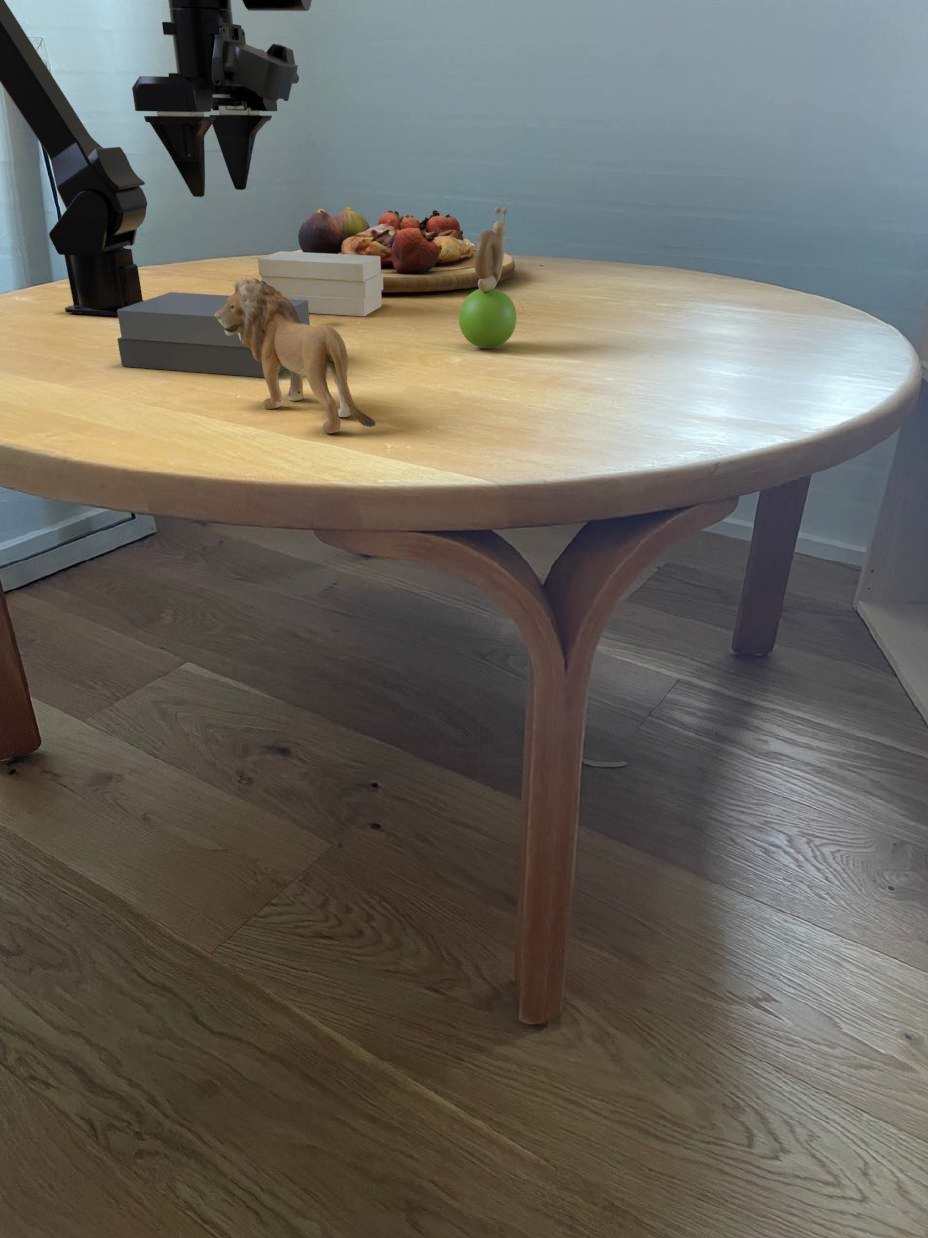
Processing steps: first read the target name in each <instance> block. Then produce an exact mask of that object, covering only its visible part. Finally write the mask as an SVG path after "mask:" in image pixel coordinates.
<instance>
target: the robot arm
mask: <svg viewBox="0 0 928 1238" xmlns="http://www.w3.org/2000/svg"><path fill="white" fill-rule="evenodd" d="M167 1H168V9H169V18H170V21H161V25H162V33H163V35H164V36H171V37H172V42H173V50H174V59H175V66H176V72H168V76H162V75H161V76H157V75H154V76H153V75H152V76H149V75H148V76H143V75H140V76H138V78H137V80H136V81H135V83H134V84H133V86H132V87H131V90H132V97H133V104H134V112H156V114H157V115H144V116H143V119H144V120H145V123H149V125H150V126H151V127H152V129H153V130H154V132H155V134H156V136H157V137H158V138H159V140H160V142H161V143H162V144H163V147H164V148H165V150H166V151H167V153H168V154H169V156H170V158H171V160H172V161H173V163H174V166H175V168H176V169H177V170H178V172H179V174H180V176H181V177H182V179H183V181H184V183H185V185H186V186H187V189H188V190H189V191H190V193H191V195H192V196H193V197H194V198H203V197H205V194H206V190H205V189H206V159H205V157H206V155H205V154H206V153H205V136H206V134H207V132H208V131H209V130H210V128H211V126H212V128H213V130H214V134H215V137H216V140H217V143H218V146H219V148H220V151H221V154H222V157H223V160H224V163H225V166H226V168H227V171H228V175H229V178H230V180H231V182H232V185H233V187H234V189H235V190H237V191H245V190H246V189H247V184H248V179H249V173H250V167H251V161H252V157H253V156H252V155H253V151H254V146H255V141H256V137H257V134H258V132H259V131H260V130H261V129H262V128H263V127H264V125H266V124H267V122H271V120H272V117H273V115H270V114H269V115H263V114H261V113H260V112H278V100H283V101H285V102H289V100H290V95H291V91H292V86H293V84H294V85H295V84H298V83H299V81H300V76H299V74H298V68H299V66H298V65H297V64H296V60H295V55H294V50H293V49H291V48H289V47H287V46H285V45H282V44H280V43H272V44H271V45H270V46H269V48H268V49H267V51H265V50H264V49H262V48H256V47H254V46H252V45H249V44H247V42H246V32H245V29H243V27H242V25H241V24H234V17H233V12H232V11H233V9H232V0H167ZM242 3H243V5H244V7H245V9H246V10H247V11H248V12H308V11H310V9H311V6H312V0H242ZM0 85H2V87H3V88H4V90H5V91H6V93H7V95H8V96H9V98H10V99H11V101H12V102H13V104H14V105H15V107H16V108H17V109H18V111H19V113H20V115H21V116H22V117H23V119H24V120H25V122H26V124H27V125H28V127H29V128H30V130H31V131H32V132H33V134H34V136H35V137H36V139H37V140H38V143H40V145H41V146H42V148H43V150H44V151H45V153H46V154H47V156H48V159H49V160H50V163H51V168H52V174H53V177H54V178H53V179H54V184H55V187H56V191H57V193H58V194H59V197H60V199H61V201H62V203H63V205H64V207H65V211H64V212H63V213H62V215H61V216H60V218H59V219H58V221H57V222H56V223H55V224H54V226H53V227H52V229H51V230H50V231H49V232H48V236H49V237H48V238H49V239H50V241H51V243H52V244H53V246H54V249H55V250H56V252H57V254H58V255H61V256H64V262H65V266H66V273H67V278H68V283H69V288H70V293H71V297H72V298H71V299H72V303H73V304H72V305H70V306H69V305H68V306H66V307H64V310H65V313H70V314H83V315H84V314H85V315H97V316H98V315H100V316H113V317H115V316H118V313H117V310H118V309H121V308H124V307H127V306H130V305H133V304H136V303H139V302H142V301H144V300H143V293H142V285H141V280H140V273H139V267H138V264H137V263H134V256H133V250H132V248H127V247H130V246H131V247H132V246H134V245H135V242H136V236H137V232H138V228H139V227H140V226H141V225H143V224H144V223H143V222H144V221H145V219H146V217H147V216H146V215H147V207H148V201H147V196H146V194H145V193H144V190H143V189H142V187H141V186H145V184H146V183H145V181H144V180H143V179H141V178H140V177H139V176H138V175H137V173H136V171H134V169H133V167H132V166H131V163H130V161H129V159H128V157H127V155H126V153H125V151H124V150H123V149H122V147H121V146H113V147H103V146H102V145H100V143H98V142H97V141H96V140H95V139H94V138H93V137H92V136H91V135H90V133H89V132H88V129H87V128H86V127H85V125H84V123H83V122H82V121H81V119H80V117H79V115H78V114H77V113H76V111H75V110H74V108H73V106H72V105H71V103H70V102H69V100H68V99H67V97H66V95H65V94H64V92H63V90H62V89H61V87H60V86H59V84H58V83H57V81H56V79H55V78H54V76H53V75H52V73H51V72H50V69H49V68H48V67H47V65H46V63H45V61H43V59H42V58H41V56H40V54H39V53H38V51H37V49H36V47H35V46H34V44H33V43H32V42H31V40H30V38H29V37H28V35H27V34H26V32H25V31H24V29H23V28H22V26H21V24H20V22H19V21H18V19H17V18H16V16H15V15H14V13H13V12H12V10H11V9H10V7H9V5H8V4H7V2H6V0H0ZM211 111H213V112H214V111H215V112H217V111H218V114H209V116H205V113H211Z"/></svg>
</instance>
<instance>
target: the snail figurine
mask: <svg viewBox="0 0 928 1238" xmlns="http://www.w3.org/2000/svg"><path fill="white" fill-rule="evenodd" d="M508 211H509V210H508V208H507V207H505V206H504V207H502V209H501V207H500V206H496V207H495V208H494V212H495V213H496V214H497V217H496V221H495V223H493V225H492V230H491V229H487V230H484V231H483V232H481V234H480V235H479V237H478V238H477V240H476V245H475V247H476V249H475V257H474V264H475V271H476V274H477V276H478V278H479V281H478V289H476V290H474V291H472V292H471V293H469V294H468V295H467V296H466V297H465V298H464V300H463V302H462V304H461V305H460V309H459V311H458V324H459V328H460V332H461V333H462V335H463V337H464V338H465V339H466V340H467V341H468V342H469V343H470V344H471V345H473V346H475V347H477V348H480V349H495V348H498V347H500V346H502V345H504V344H505V343H506V342H507V341H508V340H509V339H511V337H512V335H513V333H514V331H515V330H516V326H517V319H518V318H517V317H518V315H517V310H516V306H515V304H514V303H513V301H512V299H511V298H510V297H509V296H508V295H507V294H506V292H504V291H502V290H501V289H498V288H496V286H497V284H498V283H499V282H498V280H499V279H500V276H501V271H502V265H503V259H504V253H505V249H506V240H505V239H506V233H507V225H506V214H507V213H508ZM500 213H502V214H503V221H502V220H499V214H500Z"/></svg>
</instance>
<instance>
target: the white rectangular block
mask: <svg viewBox="0 0 928 1238" xmlns="http://www.w3.org/2000/svg"><path fill="white" fill-rule="evenodd" d="M257 264H258V266H257V267H258V276H259V277H261V276H269V277H288V278H306V279H325V280H343V281H361V282H363V281H365V280H367V279H369V278H371V277H374V276H376V275H378V274H380V273H381V261H380V256H367V255H346V254H326V253H305V252H293V251H282V250H280V251H277V252H274V253H270V254H268V255H264V256H261V257H258V258H257Z"/></svg>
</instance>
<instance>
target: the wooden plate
mask: <svg viewBox="0 0 928 1238" xmlns="http://www.w3.org/2000/svg"><path fill="white" fill-rule="evenodd" d="M463 234H464V231H463V230H461V225H460V222H459V221H458V219H457V218H456V217H454V216H451V214H450V213H448V214H446V215H445V216H443V215H441V214H440V212H439V211H438V210H436V209H433V210H432V213H431V214H430V215H429V217H427V216H425V217H424V219H423V220H421V222H420V220H418V218H415V217H414V215H409V214H406V215H400V213H399V212H398V211H396V210H394V211H393V210H387V212H386V213H383V214H382V215H381V216H380V217H379V218H378V222H377V225H375V226H373V227H372V226H370V225H369V223H368V221H367V219H366V218H365V217H364V216H363V215H362V214H360V213H358V212H357V211H355V210H354V209H353V208H352V207H351V206H346V207H345V208H344V209H343V210H341V211H340V212H338V213H337V214H336V215H335V216H334V217H333V216H331V215H330V214H329V213H328V212H327V211H326V210H324V209H323V208H318V209H317V210H315V211H313V212H312V213H311V214H309V215H308V217H307V218H306V219H304V221H303V222H302V223H301V226H300V228H299V230H298V234H297V238H298V244H299V248H300V249H298V250H294V251H293V250H292V252H305V253H326V254H346V255H367V256H380V261H381V273H383V290H382V291H381V293H416V292H417V293H420V292H439V291H454V290H462V289H471V288H476V287H478V288H479V286H478V281H479V278H478V276H477V274H476V271H475V264H474V257H475V249H476V245H475V244H474V243H472V241H470V239H467V238H464V235H463ZM515 269H516V263H515V260H514V259H513V257H512V256H511V255H510V254H508V253H506V252H504V259H503V265H502V271H501V276H500V279H499V280H498V282H497V283H499V282H502V281H505V280H506V279H508V278H511V276H512V275H513V274H514V272H515Z"/></svg>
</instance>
